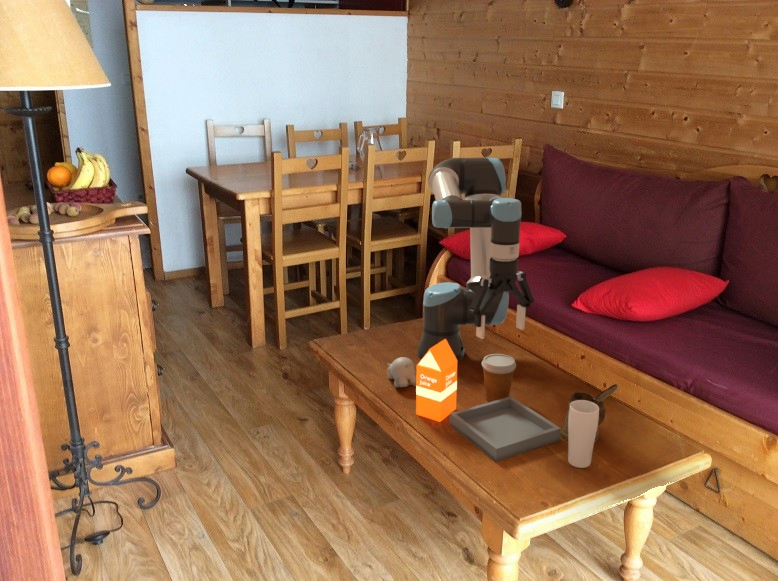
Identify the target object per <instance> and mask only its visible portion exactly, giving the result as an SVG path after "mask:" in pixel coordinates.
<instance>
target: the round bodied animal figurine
mask: <svg viewBox="0 0 778 581" xmlns="http://www.w3.org/2000/svg"><path fill="white" fill-rule="evenodd" d="M386 364H387V378H388V379H390V380H394V382H393V385H394V386H393V387H395V388H406V387H409V385H415V384H416V365H415V364H414V362H413V361H412V360H411V359H410V358H409V357H405V356H404V357H403V356H401V357H398V358H396V359H394V360H393V361H392V363H390V362H387V363H386Z"/></svg>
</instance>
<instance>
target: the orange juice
mask: <svg viewBox="0 0 778 581" xmlns="http://www.w3.org/2000/svg"><path fill="white" fill-rule="evenodd" d="M415 375H416V385H415V387H416V388H415V392H416V393H415V394H416V395H415V396H416V397H415V398H416V400H415V415H417V416H420V417H423V418H426V419H430V420H432V421H435V422H439V423H441V422H442V421H443V420H444V419H446V418H447V417H448V416H450V413H453V412H455V410H457V390H458V361H457V359H456V357H455V355H454V353H453V352H452V350H451V348H450V346H449V344H448V342H447V340H446V339H444V340H443V341H441V342H440V343H438V344H436V345H435V346H433V347H432V348H430V349H429V351H428V352H427V353H426V355H425V356H424V357H423V358H422V359H420V361H419V362H418V363H417V364H416V373H415Z"/></svg>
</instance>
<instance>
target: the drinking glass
mask: <svg viewBox="0 0 778 581" xmlns="http://www.w3.org/2000/svg"><path fill="white" fill-rule="evenodd" d="M598 420H599V407H598V405H596V404H595V403H593V402H590V401H586V400H576V401H573V402H571V403H570V407H569V414H568V441H567V444H568V445H567V447H568V448H567V452H568V453H567V462H568V464H569V465H570V466H572V467H574V468H578V469H586V468H588V467H589V466H590V465H591V464H592V456H593V453H594V445H595V443H596V442H595V437H596V432H597V430H598V428H599V426H598Z"/></svg>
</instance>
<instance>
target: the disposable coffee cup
mask: <svg viewBox="0 0 778 581" xmlns="http://www.w3.org/2000/svg"><path fill="white" fill-rule="evenodd" d="M481 366H482V369H483V378H484V379H483V381H484V390H485V392H484V394H485V399H486V401H487V403H489V402H492V401H496V400H499V399H503V398H507V397H510V395H511V394H510V393H511V389H512V382H513V379H514V378H513V377H514V373H515V372H514V371H515V369H516V368H517V363H516V361H515V358H513V357H512V356H511V355H507V354H503V353H492V354H487V355H485V356H484V357H483V360H482V361H481Z"/></svg>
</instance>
